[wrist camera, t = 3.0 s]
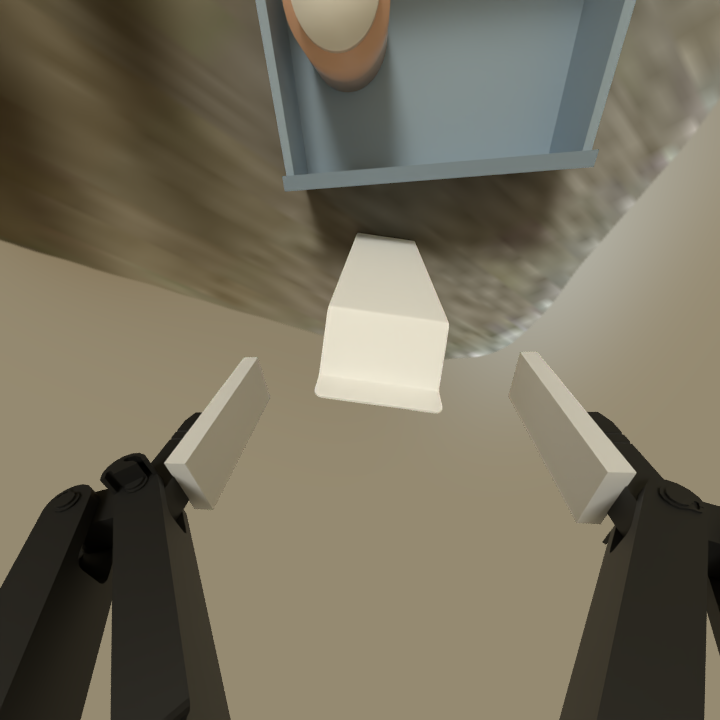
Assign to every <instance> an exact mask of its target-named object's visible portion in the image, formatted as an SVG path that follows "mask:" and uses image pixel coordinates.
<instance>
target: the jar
mask: <svg viewBox="0 0 720 720" xmlns="http://www.w3.org/2000/svg"><path fill="white" fill-rule="evenodd" d="M282 1H283V7H284V11H285V15H286V18H287V21H288V24H289V26H290V29H291V31H292V33H293V35H294V37H295V39H296V40H297V42H298V43H299V45H300V46H301V48H302V50H303V51H304V53H305V54H306V56H307V57H308V59H309V60H310V62H311V63H312V65H313V66H314V68H315V70H316V71H317V73H318V74H319V76H320V77H321V78H322V79H323V81H324V82H325V83H326V84H328V85H329V86H330V87H332V88H333V89H335V90H338V91H341V92H355V91H358V90H360V89H362V88H364V87H366V86H367V85H368V84H369V83H370V82H371V81H372V80H373V79H374V78H375V76H376V75H377V73H378V72H379V70H380V68H381V66H382V63H383V61H384V57H385V54H386V49H387V41H388V28H389V14H390V0H282Z"/></svg>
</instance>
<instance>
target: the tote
mask: <svg viewBox="0 0 720 720" xmlns="http://www.w3.org/2000/svg"><path fill="white" fill-rule="evenodd" d="M255 1H256V6H257V12H258V18H259V23H260V29H261V34H262V40H263V46H264V51H265V57H266V63H267V68H268V74H269V80H270V85H271V91H272V96H273V102H274V108H275V113H276V119H277V125H278V130H279V136H280V142H281V147H282V153H283V158H284V164H285V170H286V175H287V176H282V178H283V183H284V189H285V191H297V190H309V189H322V188H335V187H347V186H360V185H372V184H385V183H397V182H410V181H423V180H435V179H448V178H460V177H473V176H485V175H498V174H511V173H523V172H536V171H548V170H561V169H573V168H586V167H594V164H595V161H596V157H597V154H598V151H599V149H598V150H592V147H593V143H594V140H595V137H596V133H597V130H598V127H599V123H600V120H601V116H602V113H603V110H604V106H605V103H606V100H607V96H608V93H609V90H610V86H611V83H612V79H613V76H614V73H615V69H616V66H617V63H618V59H619V56H620V53H621V49H622V46H623V42H624V39H625V36H626V32H627V29H628V26H629V22H630V19H631V16H632V12H633V9H634V5H635V2H636V0H390V14H389V28H388V41H387V49H386V54H385V57H384V61H383V63H382V66H381V68H380V70H379V72H378V73H377V75H376V76H375V78H374V79H373V80H372V81H371V82H370V83H369V84H368V85H367V86H366V87H364V88H362V89H360V90H358V91H355V92H341V91H338V90H335V89H333V88H332V87H330V86H329V85H328V84H326V83H325V82H324V81H323V79H322V78H321V77H320V76H319V74H318V73H317V71H316V70H315V68H314V66H313V65H312V63H311V62H310V60H309V59H308V57H307V56H306V54H305V53H304V51H303V50H302V48H301V46H300V45H299V43H298V42H297V40H296V39H295V37H294V35H293V33H292V31H291V29H290V26H289V24H288V21H287V18H286V15H285V11H284V7H283V1H282V0H255Z"/></svg>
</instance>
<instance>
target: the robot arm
mask: <svg viewBox="0 0 720 720" xmlns="http://www.w3.org/2000/svg"><path fill="white" fill-rule="evenodd" d="M269 399H270V395H269V392H268V389H267V385H266V382H265V379H264V376H263V372H262V369H261V366H260V363H259V360H258V357H251V358H250V357H245V358H243V360H242V361H241V362H240V363H239V365H238V366H237V367H236V369H235V370H234V371H233V373H232V374H231V375H230V377H229V378H228V379H227V381H226V382H225V383H224V385H223V386H222V387H221V389H220V390H219V391H218V393H217V394H216V395H215V396H214V398H213V399H212V400H211V402H210V403H209V404H208V406H207V407H206V408H205V410H204V411H203V412H202V413H195V414H193V415H192V416H191V417H189V418H188V419H187V420H185V421H184V423H183V424H182V425H181V427H180V428H179V429H178V431H177V432H176V433H175V434H174V435H173V436H172V439H171V440H169V441H168V443H167V444H166V445H165V446H164V448H163V449H162V450H161V452H160V453H159V454H158V455H157V456H156V458H155V459H154V460H153V461H152V463H150V462H149V460H148V459H147V457H146V456H145V455H144V454H141V453H133V454H130V455H127V456H124V457H122V458H120V459H118V460H116V461H115V462H113V463H112V464H111V465H110V466H109V467H107V469H106V470H105V471H104V472H103V474H102V476H101V479H100V481H101V482H102V483H103V484H104V485H105V486H106V487H107V488H108V489H106V490H102V491H98V492H95V491H94V490H92V488H91V487H90V486H89V485H77V486H74V487H71V488H69V489H67V490H65V491H63V492H62V493H60V494H59V495H57V496H56V497H55V498H53V499H52V500H51V501H50V502H49V503H48V504H47V506H46V507H45V508H44V510H43V511H42V513H41V515H40V517H39V519H38V520H37V522H36V524H35V526H34V528H33V529H32V531H31V533H30V535H29V537H28V539H27V541H26V542H25V544H24V546H23V548H22V550H21V552H20V554H19V555H18V557H17V559H16V561H15V562H14V564H13V566H12V568H11V570H10V572H9V574H8V575H7V577H6V579H5V581H4V583H3V584H2V586H1V588H0V720H80V719H81V716H82V712H83V707H84V704H85V700H86V697H87V692H88V689H89V685H90V681H91V678H92V674H93V670H94V666H95V662H96V658H97V654H98V651H99V647H100V643H101V640H102V636H103V632H104V628H105V624H106V621H107V616H108V613H109V609H110V605H111V602H112V652H111V655H112V656H111V720H230V715H229V710H228V706H227V701H226V696H225V691H224V687H223V682H222V677H221V673H220V668H219V664H218V659H217V654H216V650H215V645H214V640H213V636H212V631H211V626H210V622H209V617H208V612H207V607H206V603H205V598H204V594H203V589H202V584H201V580H200V575H199V570H198V566H197V561H196V556H195V552H194V547H193V542H192V538H191V533H190V528H189V524H188V519H187V515H186V513H185V511H184V508H185V506H186V504H187V503H188V501H190V503H191V504H192V506H193V507H194V509H211V510H213V509H214V507H215V505H216V503H217V501H218V499H219V497H220V495H221V493H222V491H223V489H224V487H225V485H226V483H227V482H228V480H229V477H230V476H231V474H232V472H233V470H234V468H235V466H236V464H237V462H238V460H239V458H240V456H241V454H242V452H243V450H244V448H245V446H246V444H247V442H248V440H249V438H250V436H251V434H252V432H253V431H254V429H255V426H256V425H257V422H258V421H259V418H260V416H261V415H262V413H263V411H264V409H265V407H266V405H267V403H268V401H269ZM509 399H510V400H511V402H512V404H513V406H514V408H515V410H516V412H517V413H518V415H519V417H520V419H521V421H522V423H523V425H524V426H525V428H526V430H527V432H528V434H529V436H530V438H531V440H532V441H533V443H534V445H535V447H536V449H537V450H538V452H539V454H540V456H541V458H542V460H543V462H544V464H545V466H546V467H547V469H548V471H549V473H550V475H551V477H552V479H553V481H554V482H555V484H556V486H557V488H558V489H559V492H560V494H561V495H562V497H563V499H564V501H565V503H566V505H567V507H568V508H569V510H570V512H571V514H572V516H573V518H574V520H575V522H576V523H592V524H601V522H602V521H603V520H604V518H605V517H606V515H607V514H608V515H609V516H610V518H611V520H612V521H613V523H614V524H615V526H614V527H613V529H612V530H611V531H610V532H609V534H608V535H607V536H606V538H605V539H604V541H603V543H605V544H607V543H608V544H607V548H606V551H605V556H604V559H603V562H602V566H601V569H600V573H599V577H598V581H597V584H596V588H595V591H594V595H593V599H592V602H591V606H590V610H589V613H588V617H587V621H586V624H585V628H584V632H583V635H582V639H581V643H580V646H579V650H578V654H577V657H576V661H575V664H574V668H573V672H572V675H571V679H570V683H569V686H568V690H567V694H566V697H565V701H564V705H563V708H562V712H561V716H560V719H559V720H704V703H705V662H706V619H707V618H706V617H707V613H708V617H709V620H710V623H711V627H712V630H713V634H714V637H715V641H716V644H717V647H718V651H719V654H720V506H716V505H712V504H709V503H705V502H702V500H701V499H700V498H699V497H698V496H696V495H695V494H694V493H693V492H691V491H690V490H688V489H686V488H685V487H683V486H681V485H679V484H677V483H674V482H671V481H668V480H664V479H663V478H662V477H661V476H660V475H659V474H658V472H657V471H656V470H655V469H654V468H653V467H652V466H651V465H650V463H649V462H648V461H647V460H646V459H645V458H644V457H643V456H642V455H641V453H640V452H639V451H638V450H637V449H636V448H635V447H634V446H633V445H632V444H630V441H629V440H628V439H627V438H626V437H625V436H624V435H622V432H621V431H620V430H619V429H618V428H617V427H616V426H615V425H614V423H613V422H612V421H610V420H609V419H607V418H606V417H604V416H603V415H602V414H600V413H598V412H586V411H585V410H584V408H583V407H582V406H581V405H580V403H579V402H578V401H577V400H576V398H575V397H574V396H573V395H572V394H571V392H570V391H569V390H568V389H567V388H566V387H565V385H564V384H563V383H562V381H561V380H560V379H559V378H558V377H557V376H556V374H555V373H554V372H553V371H552V370H551V368H550V367H549V366H548V364H547V363H546V362H545V361H544V360H543V358H542V357H541V356H540V355H539V354H538V352H520V355H519V358H518V362H517V366H516V370H515V373H514V377H513V381H512V385H511V388H510V392H509Z"/></svg>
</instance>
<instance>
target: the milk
mask: <svg viewBox="0 0 720 720" xmlns="http://www.w3.org/2000/svg"><path fill="white" fill-rule="evenodd" d="M448 330H449V322H448V320H447V318H446V315H445V313H444V310H443V308H442V306H441V303H440V301H439V298H438V296H437V294H436V291H435V289H434V286H433V284H432V282H431V279H430V277H429V274H428V272H427V270H426V267H425V265H424V262H423V260H422V258H421V255H420V253H419V250H418V248H417V246H416V243H415V241H412V240H405V239H398V238H391V237H384V236H377V235H371V234H364V233H357V235H356V237H355V240H354V243H353V245H352V248H351V250H350V253H349V255H348V258H347V260H346V263H345V266H344V268H343V271H342V273H341V276H340V278H339V281H338V284H337V286H336V289H335V291H334V294H333V296H332V299H331V301H330V304H329V307H328V311H327V319H326V326H325V334H324V341H323V349H322V356H321V364H320V371H319V377H318V380H317V383H316V386H315V394H316V395H317V396H318V397H320V398H327V399H334V400H341V401H349V402H356V403H363V404H370V405H378V406H385V407H392V408H399V409H407V410H414V411H421V412H429V413H440V412H441V411H442V403H441V398H440V394H439V387H440V381H441V374H442V368H443V361H444V355H445V349H446V343H447V336H448Z"/></svg>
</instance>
